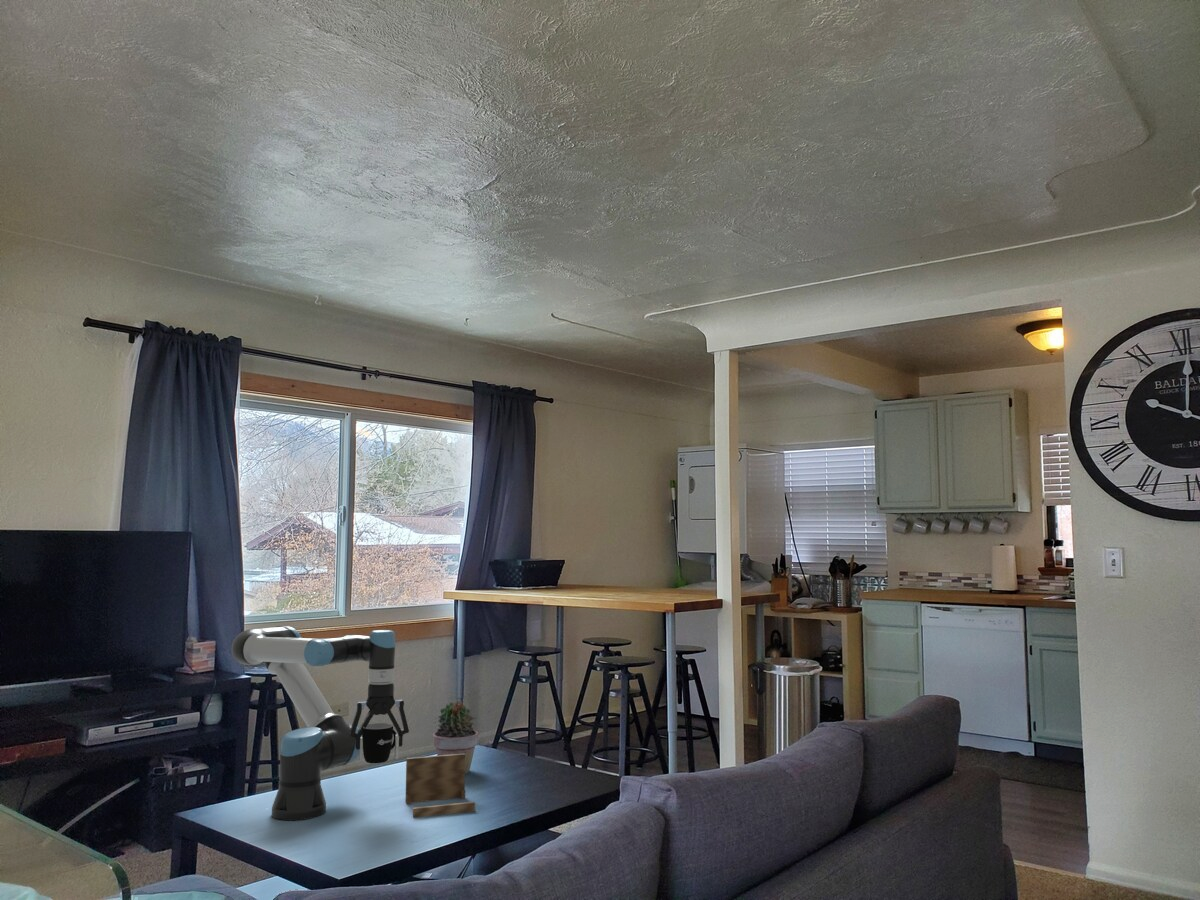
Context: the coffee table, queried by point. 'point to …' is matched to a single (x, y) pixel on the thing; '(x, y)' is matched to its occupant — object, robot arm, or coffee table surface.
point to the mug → (378, 742)
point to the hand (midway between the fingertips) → (378, 759)
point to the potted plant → (456, 733)
